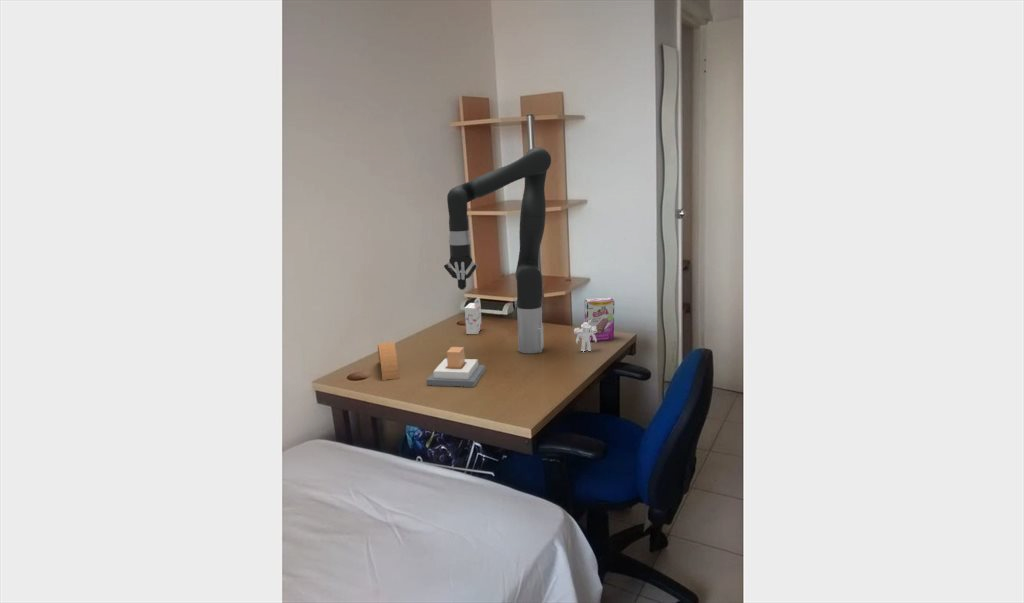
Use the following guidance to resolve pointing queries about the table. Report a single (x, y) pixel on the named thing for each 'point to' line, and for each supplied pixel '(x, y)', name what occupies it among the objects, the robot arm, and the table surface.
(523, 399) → the table surface
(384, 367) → the arch
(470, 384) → the socket plate
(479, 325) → the ink cartridge box
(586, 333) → the blocky character figurine
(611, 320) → the candy bar box
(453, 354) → the cardboard parcel
